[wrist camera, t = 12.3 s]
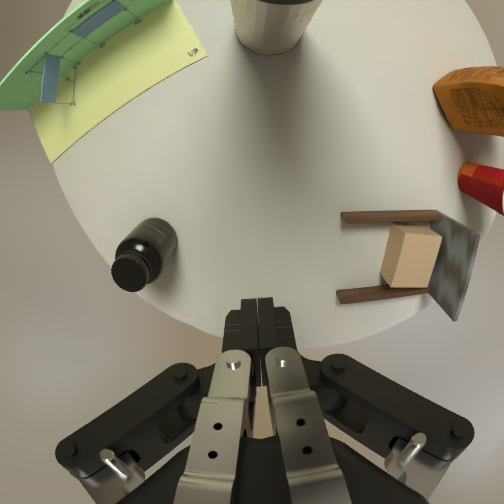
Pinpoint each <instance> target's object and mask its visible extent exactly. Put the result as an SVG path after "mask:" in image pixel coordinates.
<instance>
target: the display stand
mask: <svg viewBox="0 0 504 504" xmlns="http://www.w3.org/2000/svg"><path fill="white" fill-rule="evenodd" d="M206 56H208V55H207V53H206V52H205V50H204V48H203V46H202V45H201V43H200V41H199V39H198V38H197V36H196V34H195V33H194V31H193V29H192V28H191V26H190V24H189V22H188V21H187V19H186V17H185V16H184V14H183V13H182V11H181V9H180V8H179V6H178V4H177V3H176V1H175V0H85V1H84V2H83V3H81V4H80V5H79V6H77V7H76V8H75V9H74V10H72V11H71V12H70V13H69V14H67V15H66V16H65V17H64V18H63V19H62V20H60V21H59V22H58V23H57V24H56V25H55V26H54V27H52V28H51V29H50V30H49V31H48V32H47V33H46V34H45V35H44V36H43V37H42V38H41V39H40V40H39V41H38V42H37V43H36V44H35V45H34V46H33V47H32V48H31V49H30V50H29V51H28V52H27V53H26V54H25V55H24V56H23V57H22V58H21V59H20V60H19V62H18V63H17V64H16V65H15V66H14V67H13V68H12V69H11V71H10V72H9V73H8V74H7V75H6V77H5V78H4V79H3V80H2V81H1V83H0V111H5V110H23V109H28V111H29V113H30V116H31V119H32V121H33V124H34V126H35V128H36V131H37V133H38V136H39V138H40V140H41V143H42V145H43V147H44V149H45V152H46V154H47V156H48V158H49V160H50V163H53V162H54V161H55V160H56V159H57V158H58V157H59V156H60V155H61V154H62V153H64V152H65V151H66V150H67V149H68V148H69V147H70V146H72V145H73V144H74V143H75V142H76V141H77V140H79V139H80V138H81V137H82V136H83V135H85V134H86V133H87V132H88V131H90V130H91V129H92V128H93V127H95V126H96V125H97V124H98V123H100V122H101V121H102V120H104V119H105V118H106V117H108V116H109V115H110V114H112V113H113V112H115V111H116V110H117V109H119V108H120V107H122V106H123V105H124V104H126V103H127V102H129V101H130V100H132V99H133V98H135V97H136V96H138V95H139V94H141V93H142V92H144V91H146V90H147V89H149V88H150V87H152V86H154V85H155V84H157V83H158V82H160V81H162V80H164V79H165V78H167V77H169V76H170V75H172V74H174V73H176V72H177V71H179V70H181V69H183V68H185V67H187V66H189V65H190V64H192V63H194V62H196V61H198V60H200V59H202V58H204V57H206Z"/></svg>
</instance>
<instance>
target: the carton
mask: <svg viewBox="0 0 504 504" xmlns="http://www.w3.org/2000/svg"><path fill="white" fill-rule="evenodd" d="M441 240H442V236H440V235H439V234H437V233H436V232H434V231H433V230H432V229H430V228H429V227H425V226H417V225H409V224H400V223H392V224H391V228H390V233H389V238H388V242H387V246H386V251H385V255H384V259H383V263H382V267H381V271H380V274H381V275H382V277H383V278H384V279H385V280H386V282H387V283H388V284H389V285H390V287H427V286H428V283H429V281H430V277H431V274H432V271H433V268H434V265H435V261H436V258H437V255H438V251H439V248H440V244H441Z"/></svg>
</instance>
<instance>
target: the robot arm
mask: <svg viewBox="0 0 504 504" xmlns="http://www.w3.org/2000/svg"><path fill="white" fill-rule="evenodd" d="M321 2H322V0H231V6H232V13H233V20H234V26H235V32H236V35H237V37H238V39H239V40H240V42H241V43H242V44H243V45H244V46H246V47H247V48H249V49H250V50H252V51H255V52H257V53H261V54H271V55H272V54H279V53H282V52H285V51H287V50H289V49H291V48H292V47H293V46H295V45H296V43H297V42H298V41H299V39H300V37H301V36H302V34H303V32H304V31H305V29H306V27H307V25H308V24H309V22H310V20H311V19H312V17H313V15H314V13H315V12H316V10H317V8H318V7H319V5H320V3H321ZM258 322H259V325H258ZM260 360H261V369H260ZM261 372H262V383H263V386H267V393H268V404H269V410H270V416H271V423H272V428H273V436H271V437H268V438H264V439H255V438H253V428H254V416H255V404H256V399H255V398H256V387H257V386H261ZM324 419H326V420H327V421H329V422H330V423H332V424H333V425H335V426H336V427H337V428H339V429H340V430H342V431H343V432H345V433H346V434H348V435H349V436H351V437H352V438H354V439H355V440H357V441H358V442H360V443H361V444H363V445H364V446H366V447H368V448H369V449H371V450H372V451H374V452H375V453H377V454H379V455H380V456H382V457H384V458H385V462H384V464H385V469H386V470H387V472H388V473H389V474H388V473H387V472H385V471H384V470H382V469H380V468H379V467H378V466H376V465H375V464H373V463H372V462H370V461H369V460H368V459H366V458H365V457H363V456H362V455H360V454H359V453H358V452H356V451H355V450H353V449H352V448H350V447H349V446H348V445H347V444H345V443H343V442H341V441H339V440H337V439H334V438H331V437H329V435H328V431H327V429H326V425H325V422H324ZM193 432H194V434H193V438H192V442H191V445H190V446H188V447H186V448H184V449H183V450H181V451H180V452H178V453H177V454H176V455H175V456H174V457H172V458H171V459H170V460H169V461H168V462H167V463H166V464H164V465H163V466H162V467H161V468H160V469H159V470H157V471H156V472H155V473H154V474H152V475H151V476H150V477H149V478H148V479H146V480H145V473H144V472H145V471H146V470H147V469H149V468H150V467H151V466H153V465H154V464H155V463H157V462H158V461H159V460H160V459H162V458H163V457H164V456H165V455H167V454H168V453H169V452H170V451H172V450H173V449H174V448H175V447H177V446H178V445H179V444H180V443H181V442H183V441H184V440H185V439H186V438H187V437H188V436H190V435H191V434H192V433H193ZM473 438H474V428H473V426H472V424H471V422H470V421H468V420H467V419H466V418H464V417H462V416H460V415H457V414H456V413H454V412H451V411H449V410H447V409H446V408H444V407H442V406H440V405H438V404H436V403H434V402H432V401H430V400H428V399H426V398H424V397H422V396H420V395H418V394H417V393H415V392H413V391H411V390H409V389H407V388H405V387H403V386H401V385H400V384H398V383H396V382H394V381H392V380H390V379H388V378H387V377H385V376H383V375H381V374H380V373H378V372H376V371H374V370H372V369H370V368H369V367H367V366H365V365H363V364H362V363H360V362H358V361H356V360H354V359H353V358H351V357H349V356H347V355H344V354H332V355H329V356H327V357H325V358H324V359H323V360H322V361H313V360H309V359H306V358H304V357H303V356H301V355H300V354H299V352H298V351H297V347H296V342H295V337H294V332H293V327H292V321H291V316H290V312H289V311H288V310H287V309H286V308H285V307H274V305H273V297H268V298H258V312H257V300H256V298H254V299H241V310H231V311H230V312H229V313H228V315H227V316H226V320H225V328H224V337H223V347H222V354H221V355H219V357H218V358H217V360H216V363H214V364H213V365H211V366H208V367H205V368H201V369H196V368H195V367H194V366H193V365H191V364H188V363H177V364H174V365H172V366H170V367H169V368H167V369H166V370H164V371H163V372H162V373H160V374H159V375H157V376H156V377H155V378H153V379H152V380H150V381H149V382H148V383H146V384H145V385H143V386H142V387H141V388H139V389H138V390H136V391H135V392H133V393H132V394H130V395H129V396H128V397H127V398H125V399H123V400H122V401H120V402H119V403H118V404H116V405H115V406H113V407H112V408H110V409H109V410H107V411H106V412H104V413H103V414H101V415H100V416H98V417H97V418H95V419H94V420H92V421H91V422H89V423H88V424H86V425H85V426H83V427H82V428H80V429H79V430H77V431H75V432H74V433H72V434H71V435H69V436H68V437H66V438H65V439H63V440H62V441H60V443H59V444H58V445H57V447H56V450H55V456H56V459H57V461H58V462H59V463H60V464H61V465H62V466H63V467H64V468H65V469H67V470H68V471H69V472H70V474H71V475H73V476H74V477H75V478H76V479H78V480H79V481H80V482H81V484H82V485H83V487H84V488H85V489H86V491H87V492H88V493H89V495H90V496H91V498H92V499H93V500H94V501H95V503H96V504H429V502H428V501H427V500H428V498H429V497H430V495H431V494H432V492H433V491H434V489H435V488H436V486H437V485H438V483H439V482H440V480H441V479H442V477H443V475H444V474H445V472H446V471H447V469H448V467H449V465H450V464H451V463H452V462H453V461H454V460H455V459H456V458H457V457H458V456H459V455H460V454H461V453H462V452H463V451H464V450H465V449H466V447H468V445H469V444H470V443H471V442H472V440H473ZM144 480H145V481H144Z"/></svg>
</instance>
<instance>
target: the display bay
mask: <svg viewBox="0 0 504 504" xmlns="http://www.w3.org/2000/svg"><path fill="white" fill-rule="evenodd" d="M341 218H342V219H343V220H344V221H345V222H346V223H347V224H351V223H373V222H399V221H430V220H432V221H431V229H432V230H433V231H434V232H436V233H437V234H439V235H440V236H442V240H441V244H440V248H439V251H438V255H437V258H436V261H435V265H434V268H433V271H432V274H431V277H430V281H429V283H428V286H427V287H390V285H382V286H374V287H364V288H355V289H345V290H337V293H336V295H337V297H338V299H339V301H340V303H341V304H347V303H356V302H365V301H373V300H381V299H388V298H396V297H403V296H410V295H416V294H423V293H429V294H430V295H431V296H432V298H433V299H434V300H435V301H436V302H437V303H438V304H439V305H440V307H441V308H442V309H443V310H444V311H445V312H446V313H447V315H448V316H449V317H450V318H451V319H452V321H453V322H454V321H457V319H458V316H459V313H460V310H461V307H462V304H463V301H464V298H465V295H466V291H467V288H468V284H469V281H470V277H471V273H472V269H473V265H474V261H475V257H476V252H477V247H478V243H479V238H480V235H478V234H477V233H475V232H473V231H472V230H470V229H469V228H467V227H465V226H464V225H462V224H460V223H458V222H457V221H455V220H453V219H452V218H450V217H448V216H446V215H444V214H443V213H441V212H439V211H437V210H398V211H361V212H341Z"/></svg>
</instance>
